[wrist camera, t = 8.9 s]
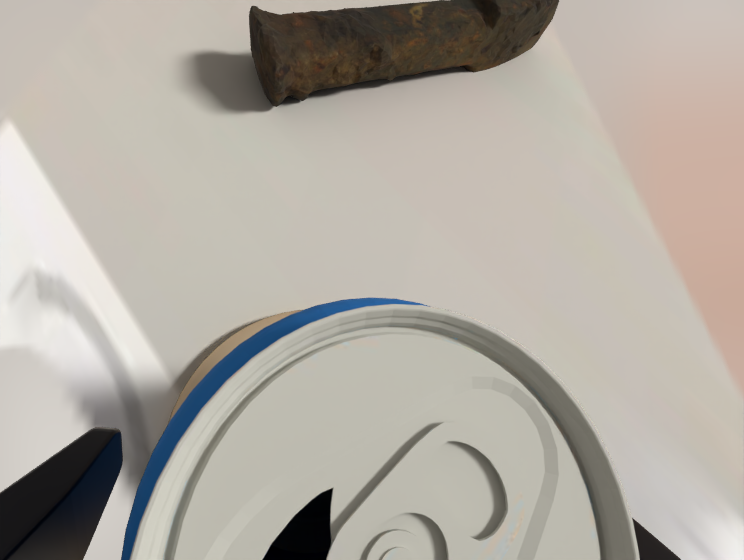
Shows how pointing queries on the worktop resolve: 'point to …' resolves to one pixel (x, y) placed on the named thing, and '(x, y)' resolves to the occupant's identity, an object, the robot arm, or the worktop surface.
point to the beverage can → (380, 449)
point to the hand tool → (389, 41)
